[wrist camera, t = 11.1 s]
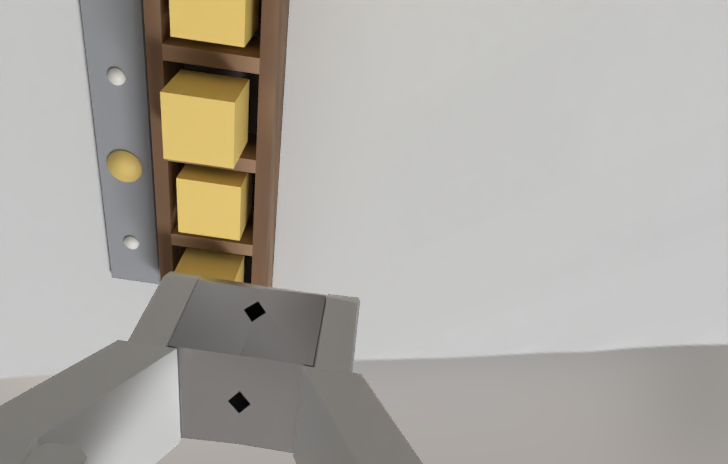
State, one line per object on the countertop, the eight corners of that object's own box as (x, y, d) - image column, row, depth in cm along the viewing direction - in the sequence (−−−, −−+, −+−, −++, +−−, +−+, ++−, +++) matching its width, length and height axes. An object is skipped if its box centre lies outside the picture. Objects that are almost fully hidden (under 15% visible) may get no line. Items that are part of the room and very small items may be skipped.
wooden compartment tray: (293, -74, 38) (282, -64, 35) (271, 296, 54) (262, 328, 51) (161, -94, 38) (137, -85, 35) (178, 283, 54) (162, 314, 51)
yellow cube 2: (249, 79, 40) (234, 102, 37) (247, 141, 43) (233, 168, 40) (180, 69, 40) (160, 91, 37) (183, 132, 43) (163, 158, 40)
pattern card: (137, -98, 38) (133, -97, 38) (160, 281, 54) (158, 285, 54) (70, -108, 38) (66, -107, 38) (113, 274, 54) (111, 278, 53)
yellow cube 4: (244, 255, 48) (231, 288, 45) (243, 300, 51) (230, 334, 47) (186, 247, 48) (169, 279, 45) (188, 292, 51) (172, 325, 47)
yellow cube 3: (253, 160, 46) (240, 187, 43) (251, 211, 49) (239, 240, 45) (193, 152, 46) (176, 177, 43) (194, 203, 49) (178, 231, 45)
